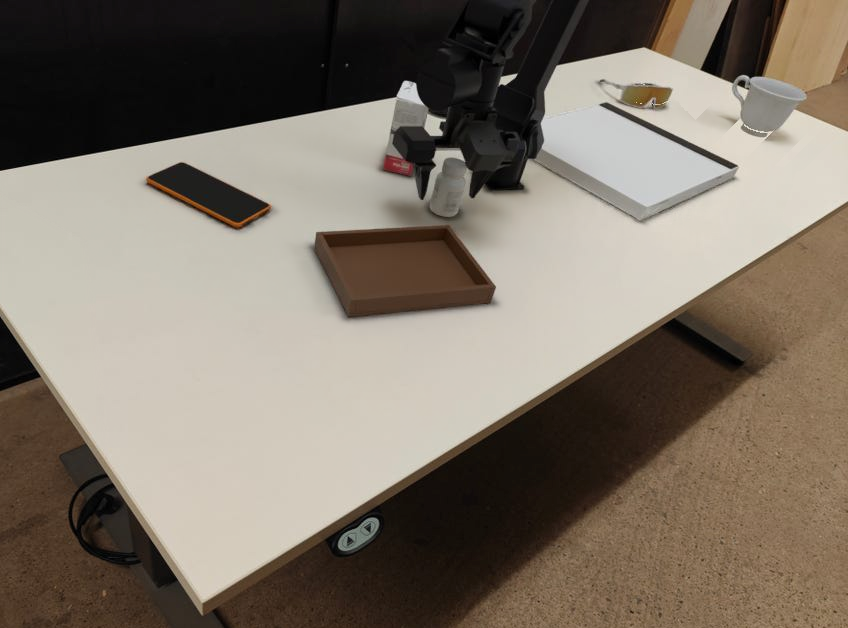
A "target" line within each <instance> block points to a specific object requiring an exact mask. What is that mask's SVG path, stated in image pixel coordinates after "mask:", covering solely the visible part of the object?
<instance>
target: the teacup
mask: <svg viewBox="0 0 848 628" xmlns="http://www.w3.org/2000/svg"><path fill="white" fill-rule="evenodd" d="M741 81H744V83H745V84H744V89H748V90H747V94H746V96H745V98H744V97H743V96H742V95H741V93H740V92H739V90H738V84H739V82H741ZM731 91H732V94H733V96H734V97H735V98H736V99H737V100H738V101H739V103H740V111H739V112H740V113H739V117H740V120H741V122H742V123H743V124H742V125H741V126H740V130H741V131H743V132H744V133H745V134H747V135H750V136H752V137H758V138H766V137H767V136H768V133H769V132H770V133H771V132H774V131H777V130H779V129H780V128H781V127H782V126H783V125H784V124H785V123H786V121H787V120H788V119H789V117H790V116H791V115H792V113H793V112H794V110H796V109H797V107H798V106H799V105H800V103H801V102H803V101H804V100H806V99H807V98H808V96H807V94H806V92H805V91H803V90H802V89H800V88H798V87H796V86H794V85H792V84H790V83H787V82H784V81H782V80H778V79H775V78H771V77H766V76H753V77H751V78H750V77H749V76H748V75H746V74H742V75H739V76H737V77H736V78H735V80H734V81H733V83H732V85H731ZM744 124H745V125H746V126H748V127H749V128H751V129H754V130H758V131H764V132H768V133H760V132H756V131H753V130H750V129H748V128H747V127H745V126H744Z"/></svg>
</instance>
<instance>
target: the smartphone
mask: <svg viewBox="0 0 848 628" xmlns="http://www.w3.org/2000/svg"><path fill="white" fill-rule="evenodd" d="M145 180H146V182H147V183H148V184H149V185H151V186H154V187H156V188H158V189H160V190H162V191H163V192H165V193H167V194H169V195H171V196H173V197H175V198H178V199H179V200H181V201H183V202H185V203H187V204H189V205H191V206H193V207H194V208H197V209H199V210H201V211H203V212H205V213H207V214H209V215H210V216H213V217H214V218H216V219H218V220H220V221H223V222H224V223H226V224H228V225H229V226H232V227H233V228H242V227H243V226H245V225H246V224H248V223H250V222H251V221H253V220H255V219H257V218H258V217H260V216H262V215H263V214H265V213H268V212H269V211H270V210H271V209H272V206H271V204H270V203H268V202H266V201H264V200H262V199H260V198H258V197H256V196H254V195H251V194H249V193H247V192H246V191H243V190H242V189H240V188H237V187H235V186H233V185H231V184H229V183H227V182H225V181H223V180H221V179H220V178H217V177H215V176H213V175H211V174H209V173H207V172H205V171H203V170H201V169H199V168H196V167H195V166H193V165H191V164H188V163H187V162H184V161H180V162H178V163H175V164H173V165H170V166H168V167H166V168H164V169H162V170H159V171H156V172H154V173H152V174H150V175H148V176H146V178H145Z"/></svg>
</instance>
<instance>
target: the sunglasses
mask: <svg viewBox="0 0 848 628" xmlns="http://www.w3.org/2000/svg"><path fill="white" fill-rule="evenodd" d="M599 83H600V84H601V83H603V84H605V85H609V86H612V87H614V88H615V89H617V90H621V94H620V99H619V100H620V102H621V103H624V104H625V105H627V106H630V107H633V108H638V109H643V108H644V107H646V106H647V105H648V104H649V103H650V102H651V107H652V109H654V110H659V109H662V108H663V107H665V105H666V104H667V102H668V101H669V100H670V98H671V95H672V93H673V90H674V88H672V87H670V86H662V85H659V84H656V83H653V82H635V83H634V84H625V85H624V84H620V83H616V82H613V81H609V80H607V79H605V78H602V79H599ZM641 83H643V84H645V85H643V84H641ZM666 101H667V102H666ZM636 102H637V103H636ZM664 102H666V103H664ZM640 103H642V104H640ZM652 103H653V104H654V105H653V104H652ZM662 103H664V104H662ZM645 104H647V105H645ZM655 104H661V105H655Z"/></svg>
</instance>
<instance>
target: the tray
mask: <svg viewBox="0 0 848 628" xmlns="http://www.w3.org/2000/svg"><path fill="white" fill-rule="evenodd" d="M313 249H314V250H315V253H316V255H317V257H318V259H319V261H320V263H321V265H322V267H323V268H324V271H325V273H326V275H327V277H328V279H329V281H330V283H331V285H332V287H333V289H334V292H335V293H336V295H337V297H338V299H339V301H340V303H341V306H342V307H343V310H344V311H345V313H346V315H347V317H348V318H352V317H361V316H372V315H381V314H382V315H383V314H390V313H391V314H392V313H401V312H411V311H420V310H430V309H440V308H442V309H443V308H450V307H459V306H460V307H462V306H469V305H470V306H471V305H480V304H488V303H489V304H490V303H492V301H493V297H494V295H495V292H496V289H497V285H495V283H494V282H493V281H492V280H491V278H490V277H489V276H488V274H487V272H486V271H485V270H484V269H483V268H482V267H481V265H480V263H478V261H477V260H476V258H475V257H474V256H473V255H472V253H471V251H470V250H469V249H468V248H467V246H466V245H465V244H464V243H463V241H462V240H461V238H459V236H458V234H456V232H455V231H454V229H452V227H451V226H450V225H449V224H443V225H423V226H405V227H403V226H402V227H387V228H367V229H350V230H349V229H348V230H347V229H346V230H329V231H327V230H326V231H316V232H315V238H314V247H313Z"/></svg>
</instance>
